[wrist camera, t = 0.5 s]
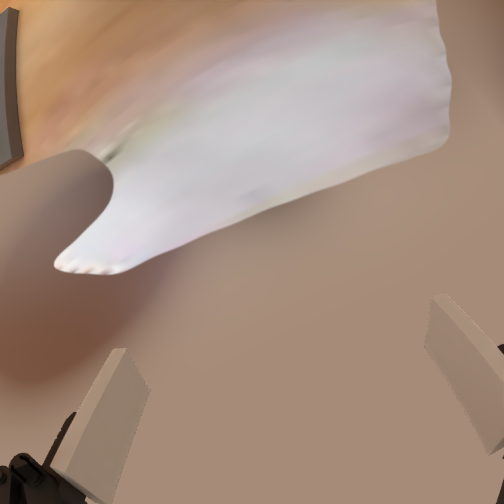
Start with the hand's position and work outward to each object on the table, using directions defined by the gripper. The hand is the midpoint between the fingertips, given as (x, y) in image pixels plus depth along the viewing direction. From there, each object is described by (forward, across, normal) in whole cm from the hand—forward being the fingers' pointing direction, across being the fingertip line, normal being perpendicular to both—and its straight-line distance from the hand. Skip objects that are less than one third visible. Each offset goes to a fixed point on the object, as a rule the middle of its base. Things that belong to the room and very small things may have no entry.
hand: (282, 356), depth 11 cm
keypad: (+27, -41, +32) cm, 59 cm away
